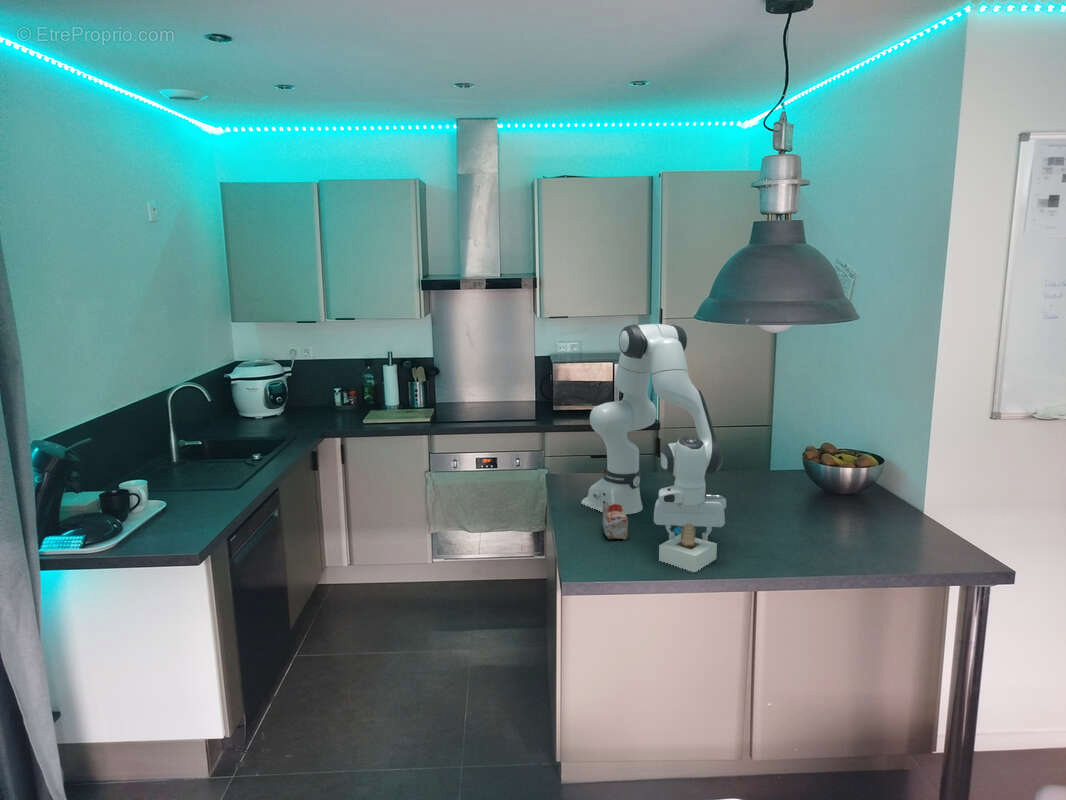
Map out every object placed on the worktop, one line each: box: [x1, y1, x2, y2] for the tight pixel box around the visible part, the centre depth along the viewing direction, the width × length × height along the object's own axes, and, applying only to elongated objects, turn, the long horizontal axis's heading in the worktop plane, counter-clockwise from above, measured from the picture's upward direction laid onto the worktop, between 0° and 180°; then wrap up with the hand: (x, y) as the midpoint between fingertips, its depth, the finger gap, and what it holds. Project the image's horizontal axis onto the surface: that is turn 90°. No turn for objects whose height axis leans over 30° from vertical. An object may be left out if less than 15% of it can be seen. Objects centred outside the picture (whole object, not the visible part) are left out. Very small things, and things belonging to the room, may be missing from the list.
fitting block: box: [658, 534, 718, 573], centre depth 210 cm, size 12×12×5 cm
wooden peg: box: [681, 524, 696, 550], centre depth 209 cm, size 4×4×12 cm
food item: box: [601, 503, 629, 541], centre depth 231 cm, size 14×8×10 cm, turn 4°
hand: (688, 539), depth 209 cm, fingers open, 8 cm apart
